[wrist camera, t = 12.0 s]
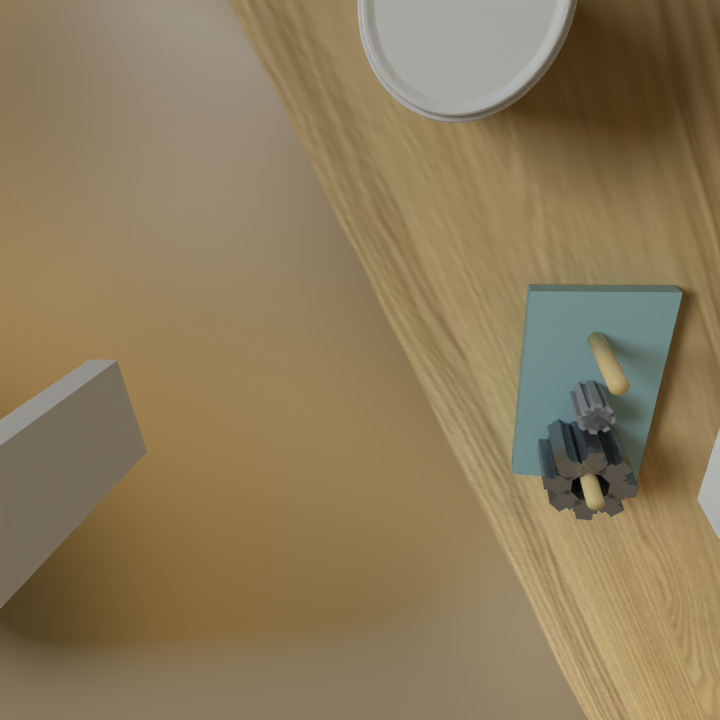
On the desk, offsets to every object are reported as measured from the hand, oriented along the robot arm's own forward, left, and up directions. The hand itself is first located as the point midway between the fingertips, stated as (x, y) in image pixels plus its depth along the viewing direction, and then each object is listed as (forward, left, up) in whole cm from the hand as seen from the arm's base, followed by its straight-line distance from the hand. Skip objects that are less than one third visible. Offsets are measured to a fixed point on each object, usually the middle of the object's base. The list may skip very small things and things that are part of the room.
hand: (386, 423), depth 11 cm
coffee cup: (-10, +1, -29) cm, 31 cm away
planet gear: (+20, +11, -27) cm, 35 cm away
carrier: (+15, +11, -29) cm, 34 cm away
